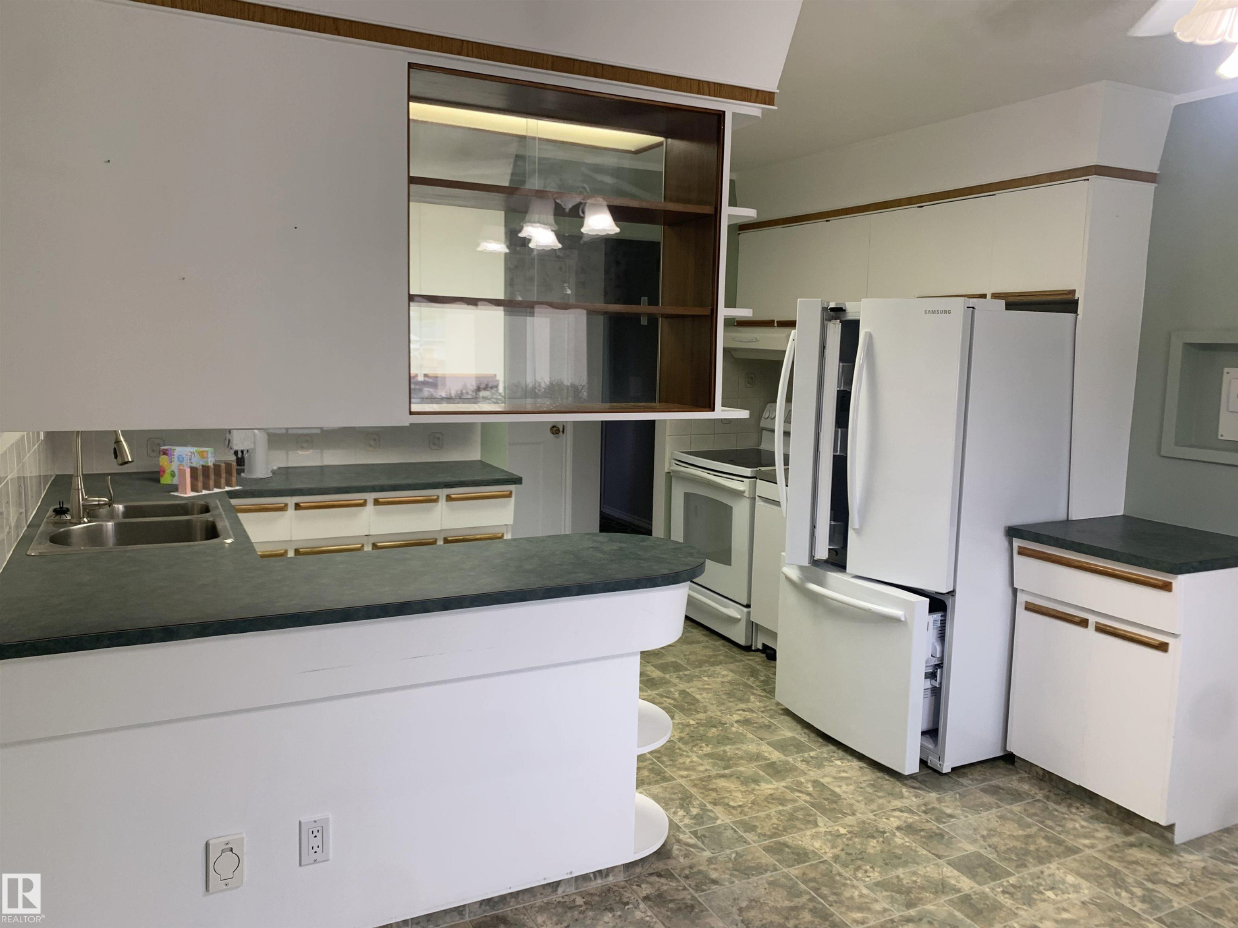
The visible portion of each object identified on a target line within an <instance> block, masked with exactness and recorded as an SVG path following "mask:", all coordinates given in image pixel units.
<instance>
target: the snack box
mask: <svg viewBox="0 0 1238 928" xmlns="http://www.w3.org/2000/svg"><path fill="white" fill-rule="evenodd" d="M158 452H159V476H160V477H159V480H160V481H159V482H160V483H159V484H166V485H168V484H169V485H178V467H184V468H190V466H199V467H202V466H201V465H202V464H207V465H213V463H216V455H215V454H216V450H215V448H214V447H208V448H207V447H195V446H193V447H192V446H174V445H173V446H172V445H171V446H170V445H169V446H168V445H166V446H161V447H159V451H158Z"/></svg>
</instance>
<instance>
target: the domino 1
mask: <svg viewBox="0 0 1238 928" xmlns="http://www.w3.org/2000/svg"><path fill="white" fill-rule="evenodd" d="M177 486H178V489H177V490H178V492H179V493H180V494H185V495H190V494H191V487H190V468H184V467H178V484H177Z"/></svg>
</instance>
